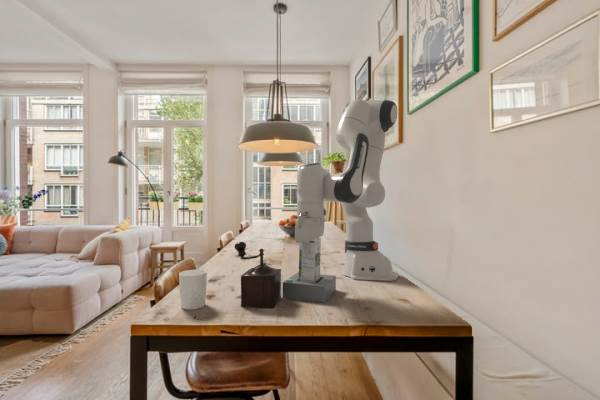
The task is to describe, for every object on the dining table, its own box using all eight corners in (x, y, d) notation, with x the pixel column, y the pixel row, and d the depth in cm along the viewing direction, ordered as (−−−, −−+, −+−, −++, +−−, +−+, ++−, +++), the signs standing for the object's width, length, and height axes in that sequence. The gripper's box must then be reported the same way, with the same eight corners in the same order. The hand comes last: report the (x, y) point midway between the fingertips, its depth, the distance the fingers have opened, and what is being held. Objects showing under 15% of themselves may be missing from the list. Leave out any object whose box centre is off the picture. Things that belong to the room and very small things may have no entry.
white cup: (199, 299, 98) (199, 268, 98) (212, 305, 93) (211, 272, 92) (174, 305, 93) (174, 272, 93) (186, 312, 87) (186, 277, 87)
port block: (335, 290, 108) (335, 273, 108) (324, 302, 95) (324, 284, 95) (298, 286, 113) (298, 270, 113) (282, 297, 100) (282, 280, 100)
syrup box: (304, 277, 108) (304, 236, 108) (320, 279, 106) (321, 236, 106) (298, 281, 102) (298, 237, 102) (315, 283, 100) (315, 238, 100)
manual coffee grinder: (282, 296, 101) (282, 241, 101) (274, 309, 90) (274, 246, 90) (237, 294, 104) (237, 240, 103) (223, 305, 93) (223, 245, 92)
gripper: (309, 213, 93) (309, 259, 93) (327, 210, 112) (327, 248, 112) (289, 212, 95) (289, 258, 95) (310, 210, 114) (310, 247, 114)
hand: (310, 252), depth 104 cm, fingers closed on syrup box, 6 cm apart
